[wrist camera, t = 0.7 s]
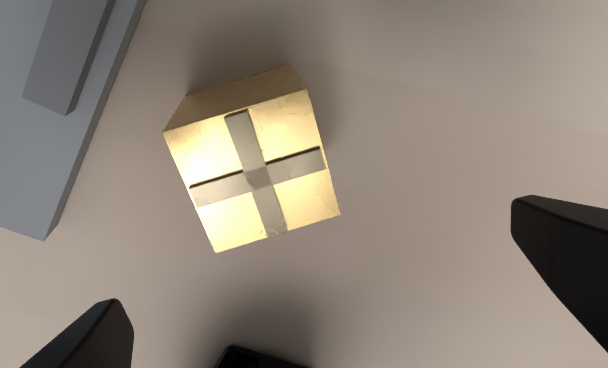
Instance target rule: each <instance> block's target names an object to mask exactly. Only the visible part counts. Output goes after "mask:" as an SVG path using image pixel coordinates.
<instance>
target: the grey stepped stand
mask: <svg viewBox="0 0 608 368" xmlns="http://www.w3.org/2000/svg"><path fill="white" fill-rule="evenodd" d="M145 2H146V0H0V227H3V228H6V229H8V230H11V231H14V232H17V233H20V234H23V235H26V236H29V237H32V238H35V239H38V240H41V241H44V240H45V239H46V238H47V237H48V236H49V234H50V233H51V232H52V231H53V230H54V228H55V227H56V226H57V224H58V222H59V219H60V216H61V214H62V211H63V209H64V206H65V204H66V201H67V199H68V196H69V194H70V191H71V189H72V186H73V184H74V181H75V179H76V176H77V174H78V171H79V169H80V166H81V164H82V161H83V158H84V156H85V153H86V151H87V148H88V146H89V143H90V141H91V138H92V136H93V133H94V131H95V128H96V126H97V123H98V121H99V118H100V116H101V113H102V111H103V108H104V106H105V103H106V101H107V98H108V95H109V93H110V90H111V88H112V85H113V83H114V80H115V78H116V75H117V73H118V70H119V68H120V65H121V63H122V60H123V58H124V55H125V53H126V50H127V48H128V45H129V43H130V40H131V38H132V35H133V32H134V30H135V27H136V25H137V22H138V20H139V17H140V15H141V12H142V10H143V7H144V5H145Z"/></svg>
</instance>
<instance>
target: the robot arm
mask: <svg viewBox="0 0 608 368" xmlns="http://www.w3.org/2000/svg"><path fill="white" fill-rule="evenodd" d="M511 234H512V237H513V239H514V241H515V242H516V244H517V245H518V246H519V248H520V249H521V250H522V252H523V253H524V255H525V256H526V257H527V259H528V260H529V261H530V263H531V264H532V265H533V267H534V268H535V269H536V271H537V272H538V273H539V275H540V276H541V278H542V279H543V280H544V282H545V283H546V284H547V286H548V287H549V288H550V289H551V291H552V292H553V293H554V294H555V295H556V297H557V298H558V299H559V300H560V301H561V302H562V303H563V304H564V306H565V307H566V308H567V309H568V310H569V311H570V312H571V313H572V314H573V315H574V316H575V318H576V319H577V320H578V321H579V322H580V323H581V324H582V325H583V326H584V327H585V329H586V330H587V331H588V332H589V333H590V334H591V335H592V336H593V337H594V338H595V340H596V341H597V342H598V343H599V344H600V345H601V346H602V347H603V348H604V349H605V350H606V352H607V353H608V209H603V208H598V207H593V206H588V205H583V204H578V203H572V202H567V201H562V200H557V199H552V198H546V197H541V196H536V195H527V196H523V197H519V198H516V199H514V200H513V201H512V204H511ZM133 342H134V330H133V326H132V324H131V322H130V320H129V318H128V316H127V314H126V312H125V310H124V308H123V306H122V304H121V302H120V301H119V300H118V299H115V298H113V299H109V300H105V301H101V302H98V303H96V304H95V305H93V306H92V307H91V308H90V309H89V310H87V311H86V312H85V313H84V314H83V315H81V316H80V317H79V318H78V319H77V320H76V321H74V322H73V323H72V324H71V325H70V326H68V327H67V328H66V329H65V330H64V331H62V332H61V333H60V334H59V335H58V336H57V337H55V338H54V339H53V340H52V341H51V342H49V343H48V344H47V345H46V346H45V347H43V348H42V349H41V350H40V351H39V352H38V353H36V354H35V355H34V356H33V357H32V358H30V359H29V360H28V361H27V362H26V363H24V364H23V365H22V366H21V367H20V368H131V360H132V351H133ZM231 354H234V355H231ZM214 368H306V367H303V366H300V365H297V364H293V363H290V362H287V361H284V360H280V359H277V358H274V357H271V356H267V355H264V354H261V353H258V352H254V351H251V350H248V349H245V348H241V347H238V346H229V347H227V348H226V349H225V351H224V352H223V354H222V356H221V357H220V359H219V360H218V362H217V364H216V365H215V367H214Z"/></svg>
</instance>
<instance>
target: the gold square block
mask: <svg viewBox="0 0 608 368" xmlns="http://www.w3.org/2000/svg"><path fill="white" fill-rule="evenodd" d="M162 134H163V136H164V138H165V140H166V143H167V145H168V147H169V149H170V152H171V154H172V156H173V158H174V161H175V163H176V165H177V167H178V169H179V172H180V174H181V176H182V178H183V181H184V183H185V185H186V187H187V190H188V192H189V194H190V196H191V199H192V201H193V203H194V205H195V208H196V210H197V212H198V214H199V217H200V219H201V221H202V223H203V226H204V228H205V230H206V232H207V235H208V237H209V239H210V241H211V244H212V246H213V248H214V250H215V253H218V252H221V251H224V250H227V249H231V248H234V247H237V246H240V245H244V244H247V243H250V242H253V241H257V240H260V239H263V238H266V237H271V236H275V235H278V234H281V233H284V232H288V231H289V230H293V229H296V228H299V227H302V226H306V225H309V224H312V223H315V222H319V221H322V220H325V219H328V218H332V217H335V216H338V215H341V214H340V211H339V207H338V203H337V199H336V195H335V192H334V188H333V184H332V180H331V177H330V173H329V169H328V165H327V162H326V158H325V154H324V150H323V146H322V143H321V139H320V135H319V131H318V128H317V124H316V120H315V116H314V112H313V109H312V105H311V101H310V97H309V94H308V90H307V88H306V86H305V85H304V84H303V82H302V81H301V80H300V78H299V77H298V76H297V74H296V73H295V72H294V70H293V69H292V68H291V66H290V65H289V64H288V65H285V66H281V67H278V68H275V69H271V70H268V71H265V72H262V73H258V74H255V75H252V76H248V77H245V78H242V79H238V80H235V81H232V82H228V83H225V84H222V85H218V86H215V87H212V88H209V89H205V90H202V91H199V92H195V93H192V94H189V95H185V97H184V99H183V100H182V102H181V103H180V105H179V107H178V108H177V110H176V111H175V113H174V115H173V116H172V118H171V119H170V121H169V123H168V124H167V126H166V127H165V129H164V131H163V132H162Z"/></svg>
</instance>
